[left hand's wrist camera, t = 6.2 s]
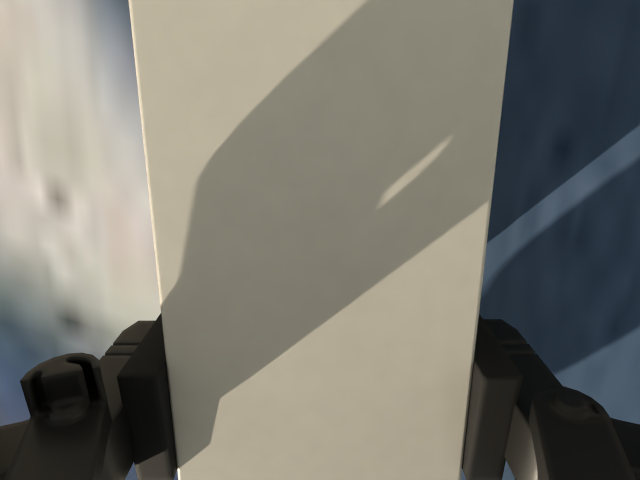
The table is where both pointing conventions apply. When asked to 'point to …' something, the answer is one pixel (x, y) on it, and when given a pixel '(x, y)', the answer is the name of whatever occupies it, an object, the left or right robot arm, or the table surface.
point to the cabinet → (320, 227)
